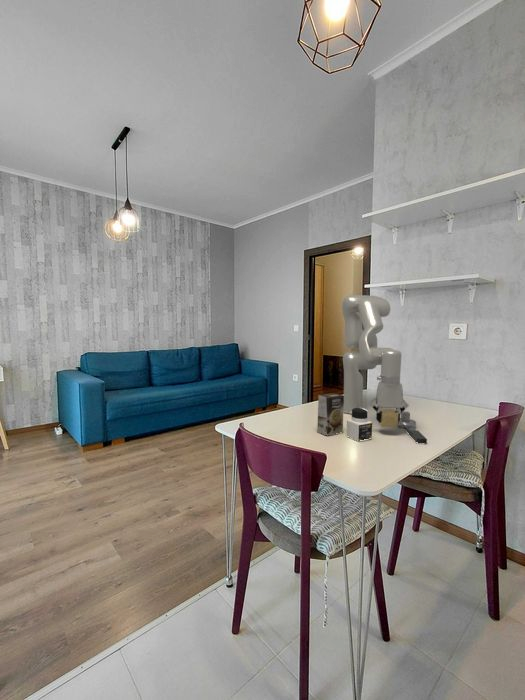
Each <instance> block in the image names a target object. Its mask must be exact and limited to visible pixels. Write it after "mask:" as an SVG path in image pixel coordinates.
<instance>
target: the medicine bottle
mask: <svg viewBox="0 0 525 700" xmlns="http://www.w3.org/2000/svg"><path fill="white" fill-rule="evenodd" d="M368 412H369V411H368V410H367V409H366V408H363V407H362V408H354V409H352V414H351V419H346V433H345V434H346V435H347V436H349V437H351V438H353V439H356V440H358V441H360V440H364V439H369V438H372V439H373V436H372V435H373V422H372V421H370V420H369V419H368V416H369V413H368ZM347 436H346V437H347ZM351 438H350V439H351ZM353 439H352V440H353Z"/></svg>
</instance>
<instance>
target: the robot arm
mask: <svg viewBox="0 0 525 700" xmlns="http://www.w3.org/2000/svg"><path fill="white" fill-rule="evenodd" d="M341 312H342V315H343V316H342V317H343V319H344V330H345V333H344V334H345V335H344V336H345V337H344V338H345V339H344V340H345V345H346V347H347V348H349V349H358V350H350V351H347V352H345V353H344V354H343V355H342V364H343V365H342V366H343V395H344V409H343V412H345V413H344V414H347V413H350V414H349V415H352V409H354V408H363V397H364V396H363V395H364V394H363V393H364V377H363V375H362V374H361V372H360V370H361V371H362V370H373V369H376V367H377V366H380V375H379V376H377V377H376V380H377V381H379V382H378V383H377V384H378V385H377V389H376V393H375V394H376V395H375V397H374V398H373V399H372V400H370V401H369V402H368V404H369V405H370V407H371V408H373V410H374V411H375V412H376V415H375V417H376V421H377V422H378V424H379V423H380V422H381V413H380V411H381V409H382V408H390V409H395V410H396V411H397V412H398V421H400V418H401V413H402V412H403V411H405V410H406V409H408V408H409V406H410V405H409V404H408V403H407V401H405V400H404V389H403V384H402V383H401V370H402V352H401V351H400V350H397V349H396V350H395V349H393V348H391V347H378V337H377V334H379V333H380V332H382V331H383V329H384V323H383V319H382V318H385V317H388V316H389V315H390V313H391V305H390V302H389V301H388V300H387V299H385V298H383V297H380V296H377V295H365V294H364V295H361V294H351V295H348V296H345V297H344V298H343V299H342V304H341ZM358 313H359V314H358ZM375 404H376V405H377V406H376V405H375Z"/></svg>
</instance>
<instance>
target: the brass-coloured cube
mask: <svg viewBox="0 0 525 700" xmlns="http://www.w3.org/2000/svg"><path fill="white" fill-rule="evenodd" d="M380 413H381V422H380V423H379V422H378V424H379V425H380V426H381V427H385V428H397V427H398V412H397V411H396V409H395V408H382V409H381V411H380Z"/></svg>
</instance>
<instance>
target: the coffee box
mask: <svg viewBox="0 0 525 700" xmlns="http://www.w3.org/2000/svg"><path fill="white" fill-rule="evenodd" d="M317 398H318V402H317V403H318V404H317V433H318V432H320V433H322V434H321V435H323V434H324V435H323V436H325V435H327V436H326V437H329V436H328V435H331V436H333V435H332V434H335V435H337V434H336V433H340V432H343V433H344V413H343V409H344V394H339V393H333V392H332V393H325V394H318V397H317ZM320 433H319V434H320ZM340 434H341V433H340Z"/></svg>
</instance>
